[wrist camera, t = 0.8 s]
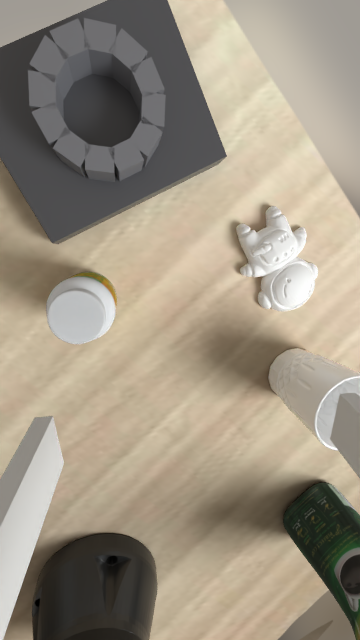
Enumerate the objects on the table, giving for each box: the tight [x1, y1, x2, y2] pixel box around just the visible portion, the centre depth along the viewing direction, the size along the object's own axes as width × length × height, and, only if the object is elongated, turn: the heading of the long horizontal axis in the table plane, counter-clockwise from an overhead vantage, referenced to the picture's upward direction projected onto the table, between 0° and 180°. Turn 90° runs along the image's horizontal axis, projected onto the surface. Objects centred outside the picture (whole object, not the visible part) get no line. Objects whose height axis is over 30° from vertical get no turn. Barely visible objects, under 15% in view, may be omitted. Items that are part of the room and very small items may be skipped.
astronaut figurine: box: [236, 206, 318, 311], centre depth 32 cm, size 9×12×3 cm
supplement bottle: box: [46, 272, 117, 344], centre depth 25 cm, size 5×5×10 cm
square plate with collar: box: [0, 0, 227, 244], centre depth 24 cm, size 18×14×6 cm
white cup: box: [268, 348, 360, 451], centre depth 32 cm, size 8×8×10 cm
